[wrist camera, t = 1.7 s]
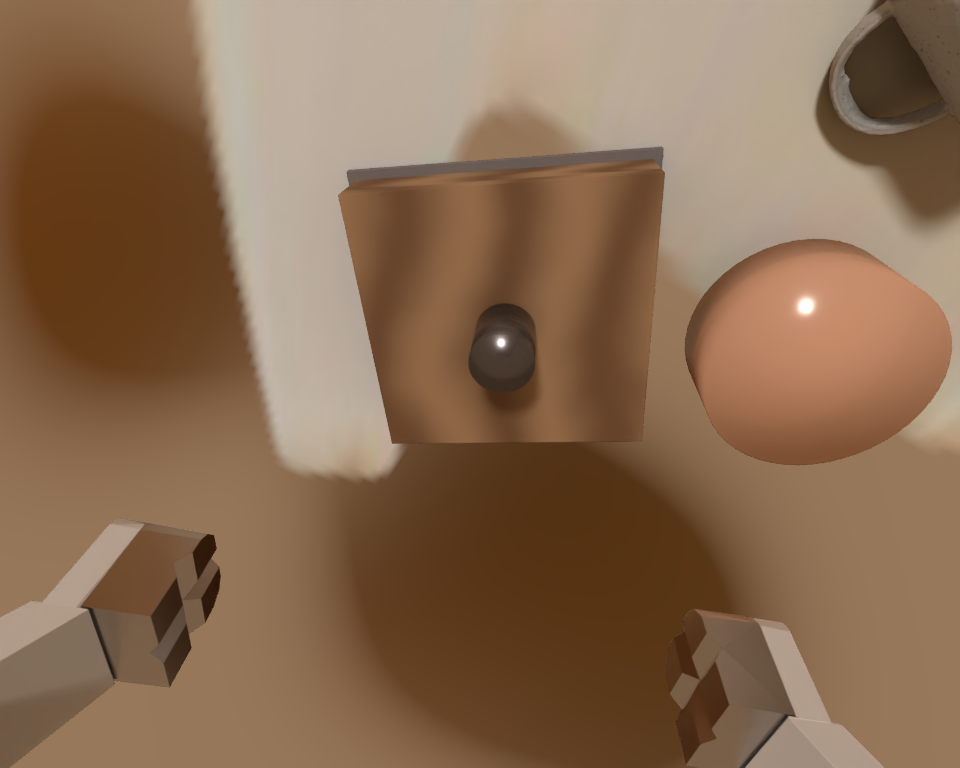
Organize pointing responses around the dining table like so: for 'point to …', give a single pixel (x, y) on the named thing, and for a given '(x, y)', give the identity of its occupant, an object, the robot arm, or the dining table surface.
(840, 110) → the ceramic mug
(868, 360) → the bowl
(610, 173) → the lid
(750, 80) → the dining table surface
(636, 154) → the mat
